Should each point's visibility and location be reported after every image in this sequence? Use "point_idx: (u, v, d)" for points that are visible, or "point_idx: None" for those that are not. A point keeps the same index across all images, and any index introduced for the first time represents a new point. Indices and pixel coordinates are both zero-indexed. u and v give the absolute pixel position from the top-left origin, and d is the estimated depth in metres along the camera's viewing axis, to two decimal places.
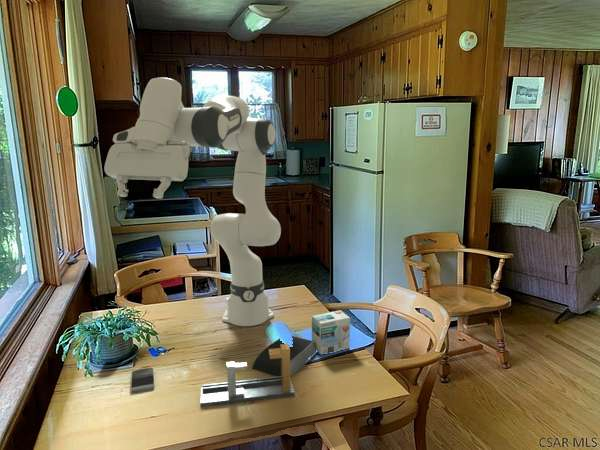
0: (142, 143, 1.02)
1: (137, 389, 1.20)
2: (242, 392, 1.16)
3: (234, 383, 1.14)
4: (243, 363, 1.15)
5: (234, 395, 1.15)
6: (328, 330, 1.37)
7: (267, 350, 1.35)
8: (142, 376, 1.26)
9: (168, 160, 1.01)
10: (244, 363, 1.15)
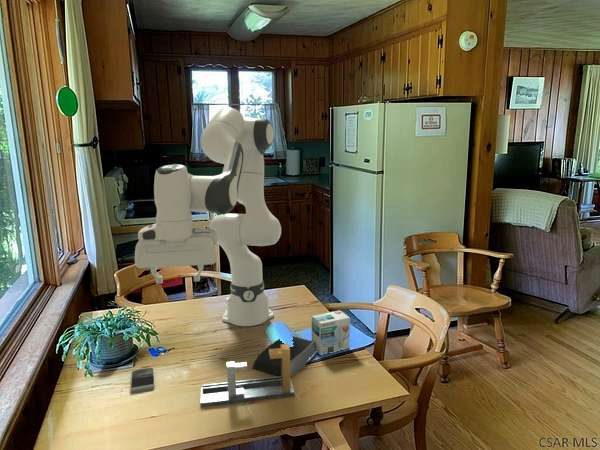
0: (174, 240, 1.11)
1: (137, 389, 1.20)
2: (242, 392, 1.16)
3: (234, 383, 1.14)
4: (243, 363, 1.15)
5: (234, 395, 1.15)
6: (328, 330, 1.37)
7: (267, 350, 1.34)
8: (142, 376, 1.26)
9: (202, 251, 1.15)
10: (244, 363, 1.15)
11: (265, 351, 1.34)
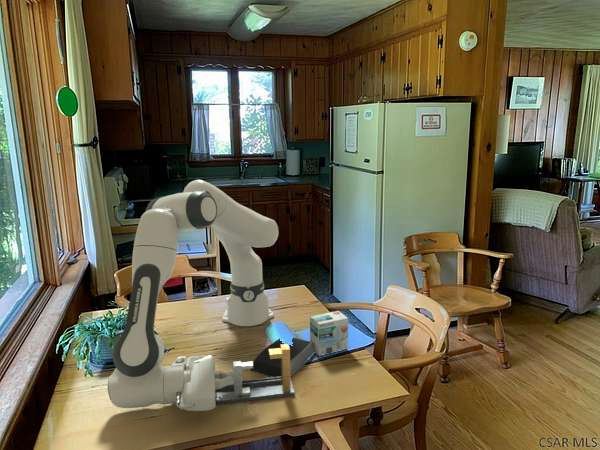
0: None
1: None
2: (248, 391, 1.16)
3: (240, 382, 1.15)
4: (249, 362, 1.16)
5: (240, 394, 1.15)
6: (327, 331, 1.37)
7: (265, 351, 1.34)
8: None
9: None
10: (250, 362, 1.16)
11: (263, 352, 1.33)
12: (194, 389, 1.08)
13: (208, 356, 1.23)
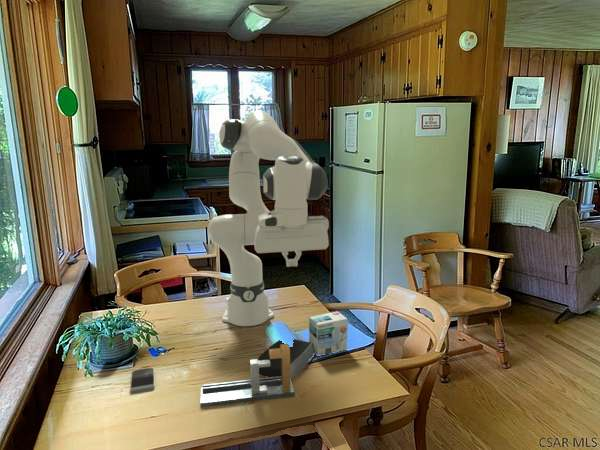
0: (293, 227, 1.19)
1: (137, 389, 1.20)
2: (265, 389, 1.17)
3: (257, 380, 1.15)
4: (266, 361, 1.17)
5: (257, 392, 1.16)
6: (326, 332, 1.37)
7: (266, 353, 1.33)
8: (142, 376, 1.26)
9: (316, 237, 1.22)
10: (267, 361, 1.17)
11: (264, 354, 1.32)
12: None
13: None
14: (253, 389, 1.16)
